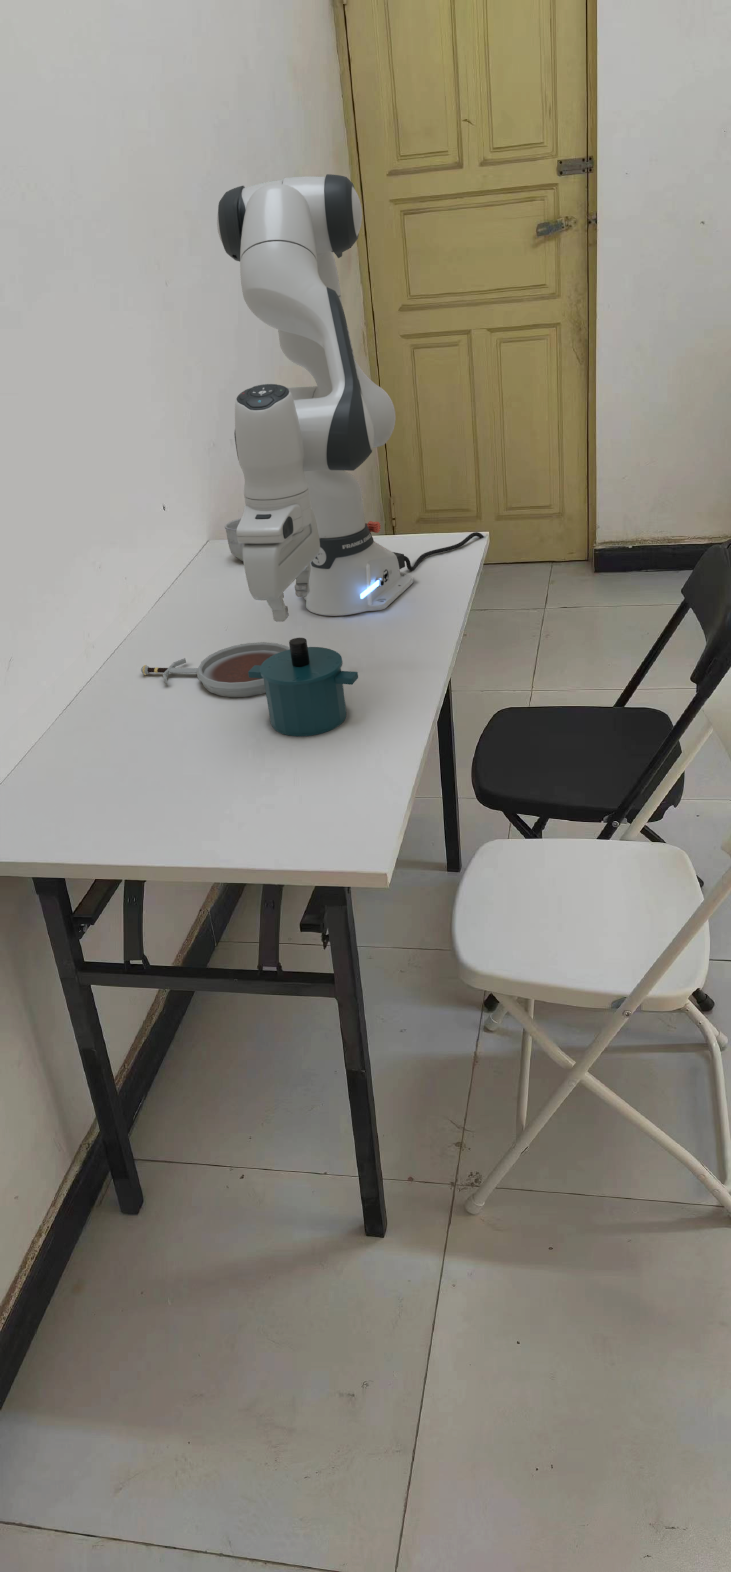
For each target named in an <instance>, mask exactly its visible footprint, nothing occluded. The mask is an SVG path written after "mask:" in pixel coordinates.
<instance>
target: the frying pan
mask: <svg viewBox="0 0 731 1572" xmlns="http://www.w3.org/2000/svg"><path fill="white" fill-rule="evenodd" d="M286 650H290V646H288V645H285V644H282V643H278V642H267V641H259V642H246V643H241V644H235V645H231V646H227V647H225V648H222V649H219V650H218V651H215V652H213V653H211V654H209V655H207V657H205V658H204V659H203V660H201V661H200V663H199V665H198V667H179V666H181V665H184V664H186V663H187V659H186V657H183V658H181V659H179V660H176V661H174V662H172V663H171V665H169V666H168V667H150V666H148V665H147V664H144V665H142V667H141V668H140V672H141V674H143V675H144V676H147V675H149V674H150V673H155V674H159V673H161V674H162V678H163V680H164V683H165V684H168V678H167V677H168V676H169V675H170V674H196V675H197V679H198V680H199V681H200V682H201V683H202V685H203V687H204V689H206V690H207V691H208V692H209V693H211V694H214V695H217V696H220V697H228V698H242V697H243V698H245V697H253V696H258V695H263V694H266V691H265V685H264V679H262V678H249V674H248V671H249V670H250V669H251V668H252V667H254V666H255V665H260V666H261V664H262V663H263V662H264V661H265V660H266V659H268V658H269V657H271V656H273V655H275V654H277V653H280V652H283V651H286Z"/></svg>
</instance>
